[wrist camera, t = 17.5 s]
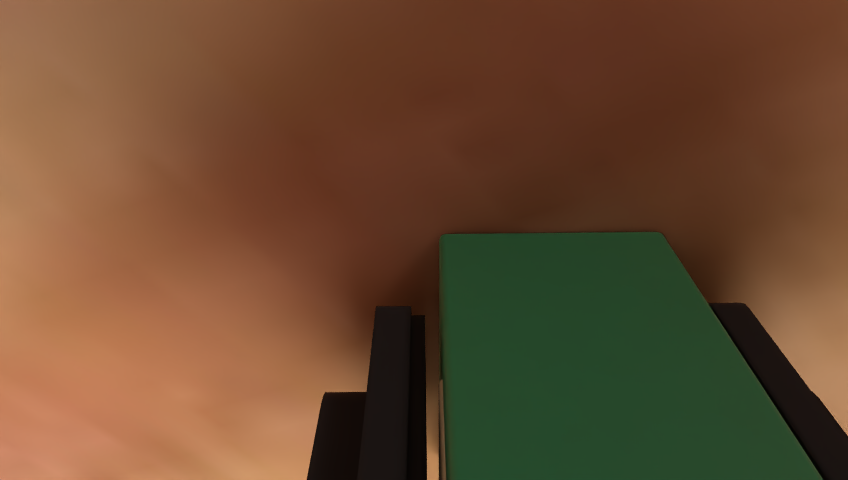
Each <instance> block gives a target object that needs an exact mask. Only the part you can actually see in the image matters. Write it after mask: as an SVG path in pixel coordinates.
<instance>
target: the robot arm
mask: <svg viewBox="0 0 848 480" xmlns="http://www.w3.org/2000/svg"><path fill="white" fill-rule="evenodd" d="M708 304H709V306H710V307H711V309H712V310H713V312H714V314H715V315H716V317H717V318H718V320H719V321H720V323H721V324H722V326H723V327H724V329H725V330H726V332H727V333H728V335H729V336H730V338H731V340H732V341H733V343H734V344H735V346H736V347H737V349H738V350H739V352H740V353H741V355H742V356H743V358H744V359H745V361H746V362H747V364H748V366H749V367H750V369H751V370H752V372H753V373H754V375H755V376H756V378H757V379H758V381H759V382H760V384H761V385H762V387H763V388H764V390H765V392H766V393H767V395H768V396H769V398H770V399H771V401H772V402H773V404H774V405H775V407H776V408H777V410H778V411H779V413H780V414H781V416H782V418H783V419H784V421H785V422H786V424H787V425H788V427H789V428H790V430H791V431H792V433H793V434H794V436H795V437H796V439H797V440H798V442H799V444H800V445H801V447H802V448H803V450H804V451H805V453H806V454H807V456H808V457H809V459H810V460H811V462H812V463H813V465H814V466H815V468H816V470H817V471H818V473H819V474H820V476H821V477H822V479H823V480H848V436H847V435H846V433H845V432H844V431H843V429H842V428H841V427H840V425H839V424H838V423H837V421H836V420H835V419H834V417H833V416H832V415H831V413H830V412H829V411H828V409H827V408H826V407H825V405H824V404H823V403H822V401H821V400H820V399H819V398H818V397H817V396H816V395H815V394H814V393H813V392H812V391H811V390H810V389H809V388H808V386H807V385H806V384H805V382H804V381H803V380H802V378H801V377H800V376H799V374H798V373H797V372H796V370H795V369H794V368H793V366H792V365H791V364H790V362H789V361H788V360H787V358H786V357H785V356H784V354H783V353H782V352H781V350H780V349H779V348H778V346H777V345H776V344H775V342H774V341H773V340H772V338H771V337H770V336H769V334H768V333H767V332H766V330H765V329H764V328H763V326H762V325H761V324H760V322H759V321H758V319H757V318H756V317H755V315H754V314H753V313H752V311H751V310H750V309H749V308H748V307H747V306H746V305H745V304H743V303H708ZM307 480H427V439H426V358H425V315H412V313H411V306H377V307H376V311H375V319H374V329H373V338H372V347H371V356H370V366H369V375H368V384H367V392H325V394H324V396H323V399H322V403H321V408H320V413H319V418H318V424H317V429H316V434H315V439H314V445H313V450H312V455H311V460H310V465H309V471H308V476H307Z"/></svg>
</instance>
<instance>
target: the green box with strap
mask: <svg viewBox="0 0 848 480" xmlns="http://www.w3.org/2000/svg"><path fill="white" fill-rule="evenodd" d="M439 480H823V479H822V477H821V476H820V474H819V473H818V471H817V470H816V468H815V466H814V465H813V463H812V462H811V460H810V459H809V457H808V456H807V454H806V453H805V451H804V450H803V448H802V447H801V445H800V444H799V442H798V440H797V439H796V437H795V436H794V434H793V433H792V431H791V430H790V428H789V427H788V425H787V424H786V422H785V421H784V419H783V418H782V416H781V414H780V413H779V411H778V410H777V408H776V407H775V405H774V404H773V402H772V401H771V399H770V398H769V396H768V395H767V393H766V392H765V390H764V388H763V387H762V385H761V384H760V382H759V381H758V379H757V378H756V376H755V375H754V373H753V372H752V370H751V369H750V367H749V366H748V364H747V362H746V361H745V359H744V358H743V356H742V355H741V353H740V352H739V350H738V349H737V347H736V346H735V344H734V343H733V341H732V340H731V338H730V336H729V335H728V333H727V332H726V330H725V329H724V327H723V326H722V324H721V323H720V321H719V320H718V318H717V317H716V315H715V314H714V312H713V310H712V309H711V307H710V306H709V304H708V303H707V301H706V300H705V298H704V297H703V295H702V294H701V292H700V291H699V289H698V288H697V286H696V284H695V283H694V281H693V280H692V278H691V277H690V275H689V274H688V272H687V271H686V269H685V268H684V266H683V265H682V263H681V262H680V260H679V258H678V257H677V255H676V254H675V252H674V251H673V249H672V248H671V246H670V245H669V243H668V242H667V240H666V239H665V237H664V236H663V234H662V233H659V232H590V233H490V234H444V235H442V236H441V237H440V239H439Z"/></svg>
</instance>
